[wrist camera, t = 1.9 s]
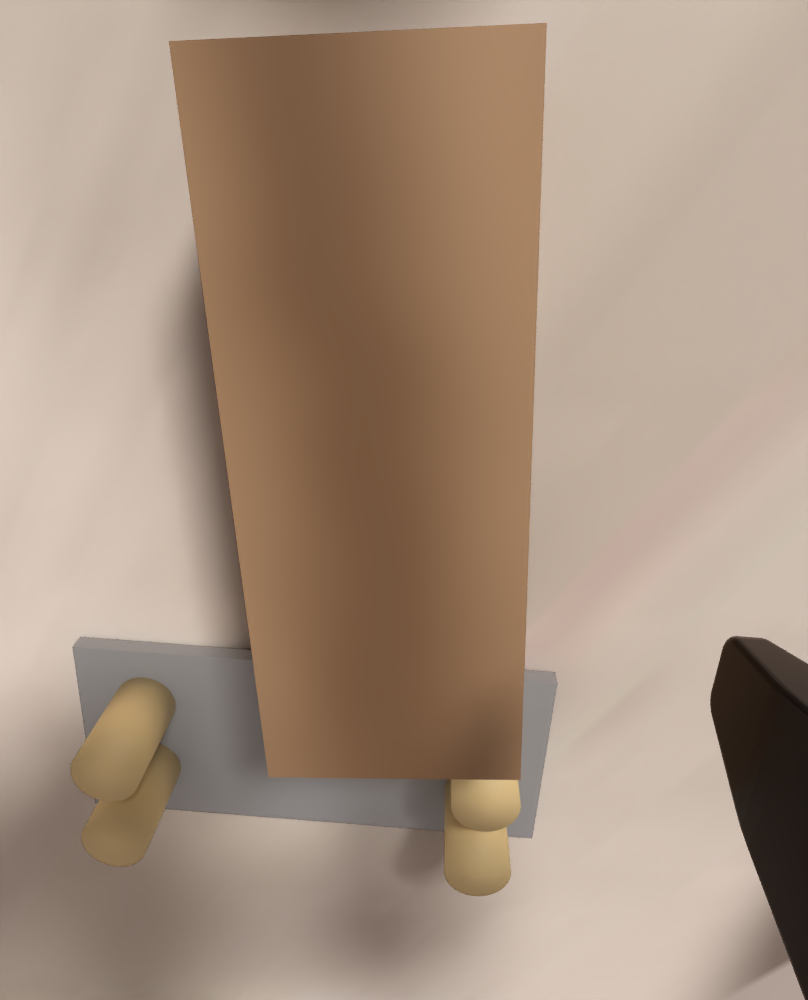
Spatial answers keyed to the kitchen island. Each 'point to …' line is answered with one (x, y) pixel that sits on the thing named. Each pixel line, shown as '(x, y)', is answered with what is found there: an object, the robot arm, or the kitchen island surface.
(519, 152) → the board
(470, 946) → the kitchen island surface
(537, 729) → the stand
